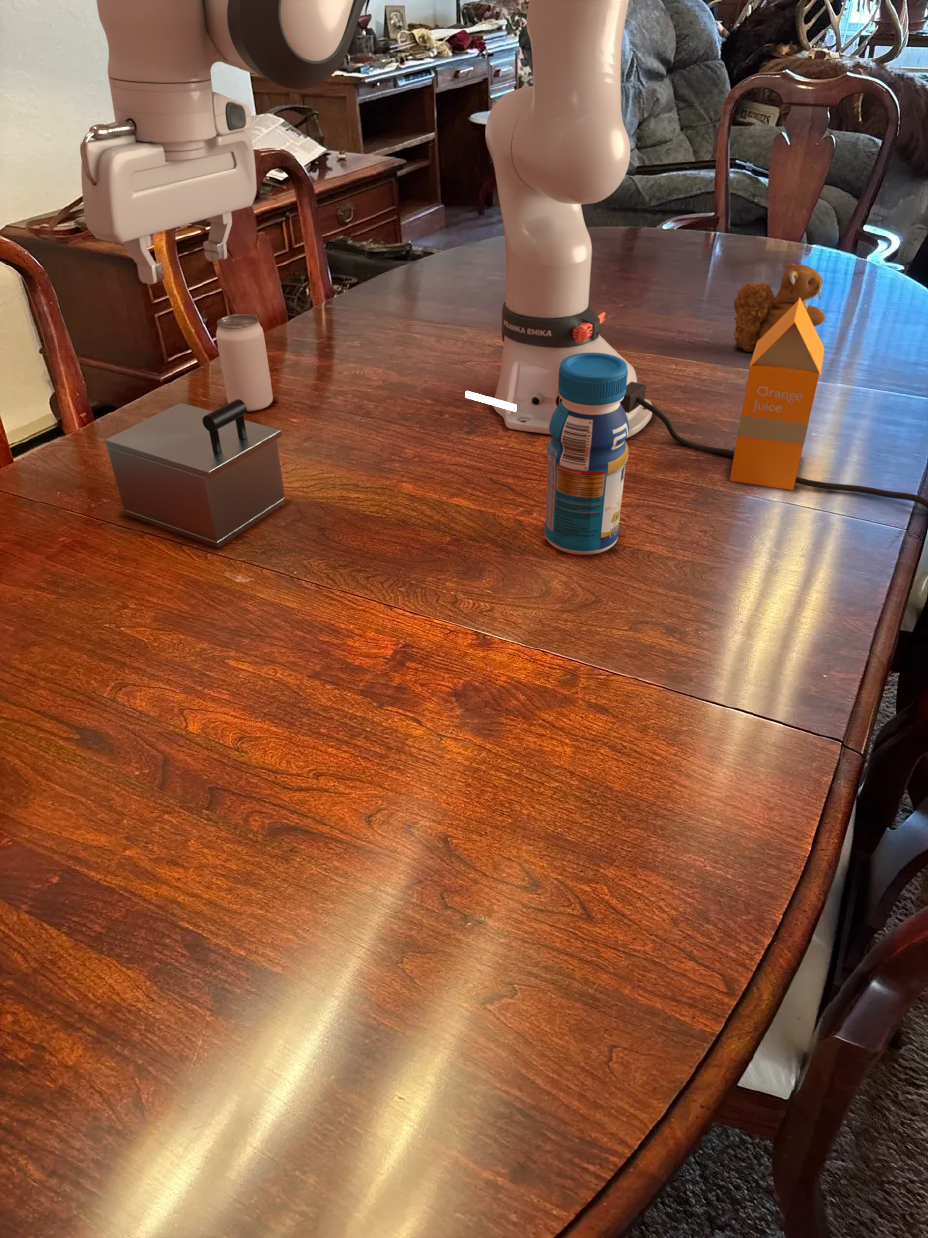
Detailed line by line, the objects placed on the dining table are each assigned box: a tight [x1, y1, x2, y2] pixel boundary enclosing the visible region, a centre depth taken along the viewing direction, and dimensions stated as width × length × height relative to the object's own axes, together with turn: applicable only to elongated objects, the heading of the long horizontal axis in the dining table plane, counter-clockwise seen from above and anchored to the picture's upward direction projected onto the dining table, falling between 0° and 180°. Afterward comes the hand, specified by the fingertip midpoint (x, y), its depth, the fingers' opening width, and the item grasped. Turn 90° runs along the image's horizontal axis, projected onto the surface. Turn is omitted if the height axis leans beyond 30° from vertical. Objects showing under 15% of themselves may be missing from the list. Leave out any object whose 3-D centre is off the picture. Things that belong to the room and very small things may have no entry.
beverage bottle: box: [544, 353, 629, 556], centre depth 96 cm, size 8×8×20 cm
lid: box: [104, 399, 283, 478], centre depth 101 cm, size 16×12×5 cm
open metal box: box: [106, 439, 287, 549], centre depth 106 cm, size 15×12×9 cm
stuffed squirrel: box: [733, 262, 826, 353], centre depth 143 cm, size 10×14×13 cm
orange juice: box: [729, 298, 825, 491], centre depth 109 cm, size 8×9×20 cm
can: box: [215, 313, 274, 413], centre depth 129 cm, size 6×6×12 cm
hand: (185, 270), depth 92 cm, fingers open, 8 cm apart
